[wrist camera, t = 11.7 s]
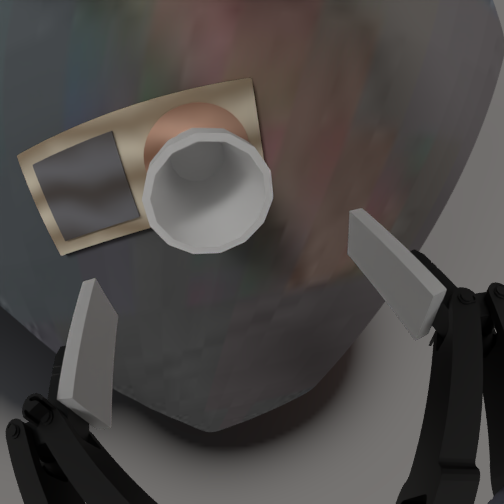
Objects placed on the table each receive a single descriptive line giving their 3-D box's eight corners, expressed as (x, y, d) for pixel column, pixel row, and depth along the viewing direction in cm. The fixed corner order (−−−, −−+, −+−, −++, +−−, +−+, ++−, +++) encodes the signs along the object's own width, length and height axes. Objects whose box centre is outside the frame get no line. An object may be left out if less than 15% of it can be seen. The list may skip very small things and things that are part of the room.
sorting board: (20, 153, 25) (15, 156, 24) (249, 77, 28) (252, 77, 27) (63, 251, 34) (60, 257, 33) (266, 193, 37) (269, 198, 36)
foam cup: (176, 206, 33) (178, 271, 23) (140, 137, 28) (118, 172, 18) (250, 172, 33) (288, 222, 23) (221, 100, 28) (249, 111, 18)
